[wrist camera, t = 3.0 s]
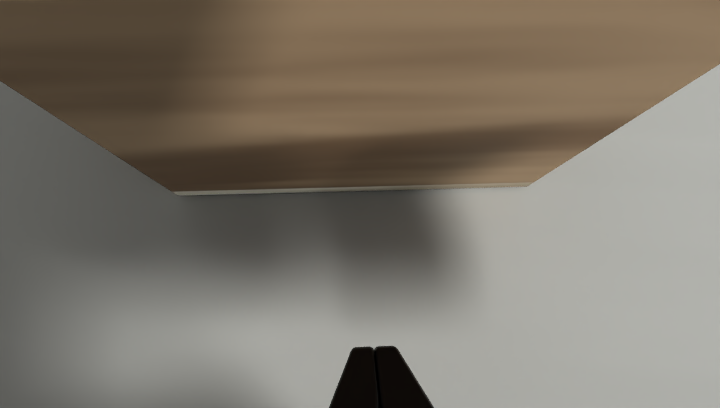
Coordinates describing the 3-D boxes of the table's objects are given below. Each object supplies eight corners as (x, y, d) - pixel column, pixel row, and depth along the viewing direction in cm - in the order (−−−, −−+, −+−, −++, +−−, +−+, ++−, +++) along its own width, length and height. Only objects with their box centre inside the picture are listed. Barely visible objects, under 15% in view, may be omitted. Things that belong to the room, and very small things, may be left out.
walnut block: (526, 186, 17) (833, -8, 6) (177, 195, 17) (-121, 2, 6) (516, 79, 18) (771, -254, 7) (182, 85, 18) (-77, -261, 7)
